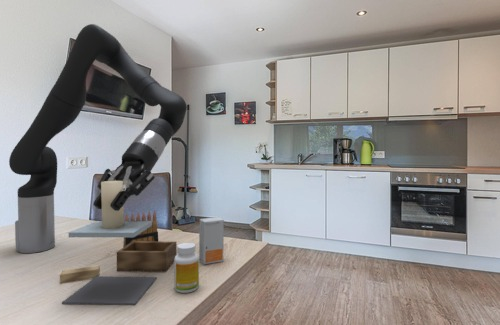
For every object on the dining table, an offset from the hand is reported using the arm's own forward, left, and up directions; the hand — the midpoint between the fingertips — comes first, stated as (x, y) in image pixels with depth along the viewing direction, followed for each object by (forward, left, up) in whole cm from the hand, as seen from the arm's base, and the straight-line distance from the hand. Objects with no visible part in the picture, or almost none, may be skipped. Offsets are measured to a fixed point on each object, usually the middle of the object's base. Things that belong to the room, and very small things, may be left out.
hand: (105, 207), depth 59 cm
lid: (+1, +2, -6) cm, 6 cm away
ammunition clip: (-4, +28, -19) cm, 34 cm away
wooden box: (+3, +16, -19) cm, 25 cm away
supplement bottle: (+17, +3, -19) cm, 26 cm away
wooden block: (-11, +7, -19) cm, 23 cm away
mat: (+1, +2, -19) cm, 19 cm away
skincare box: (+20, +19, -19) cm, 33 cm away
